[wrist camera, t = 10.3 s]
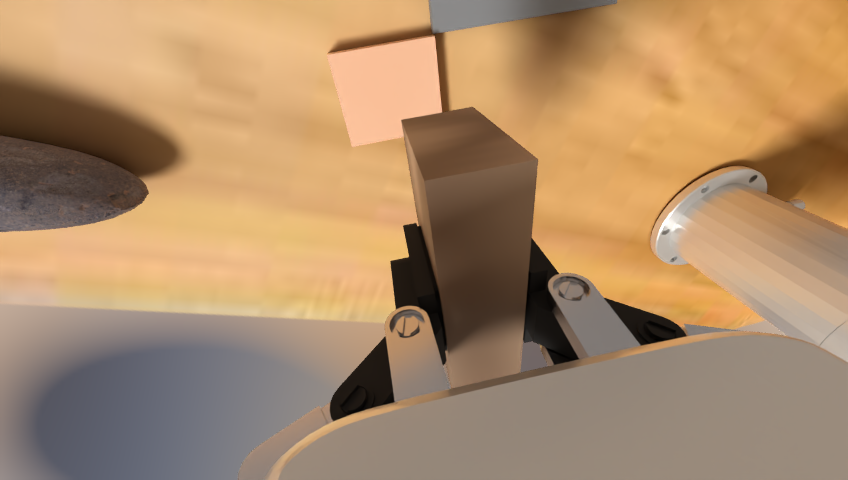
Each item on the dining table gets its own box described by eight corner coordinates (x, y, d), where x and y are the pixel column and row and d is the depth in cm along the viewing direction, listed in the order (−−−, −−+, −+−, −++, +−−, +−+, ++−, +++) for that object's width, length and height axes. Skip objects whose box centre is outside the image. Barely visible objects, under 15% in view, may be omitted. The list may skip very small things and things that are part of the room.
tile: (438, 122, 26) (429, 34, 22) (443, 129, 24) (434, 36, 21) (352, 139, 25) (328, 52, 21) (352, 146, 24) (326, 54, 20)
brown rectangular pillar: (472, 107, 11) (538, 159, 7) (480, 305, 17) (518, 397, 13) (401, 119, 11) (424, 180, 7) (433, 315, 17) (456, 412, 13)
